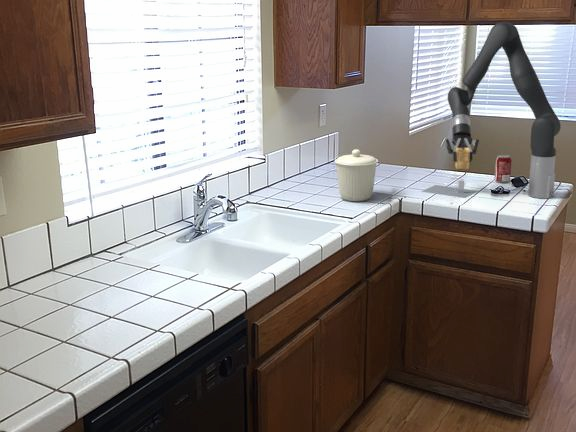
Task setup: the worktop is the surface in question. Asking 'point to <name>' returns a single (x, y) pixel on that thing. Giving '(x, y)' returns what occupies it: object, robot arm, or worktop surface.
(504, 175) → the soda can
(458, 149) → the ochre knob
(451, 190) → the slate base plate
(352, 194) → the canister
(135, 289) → the worktop surface
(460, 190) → the metal shaft
